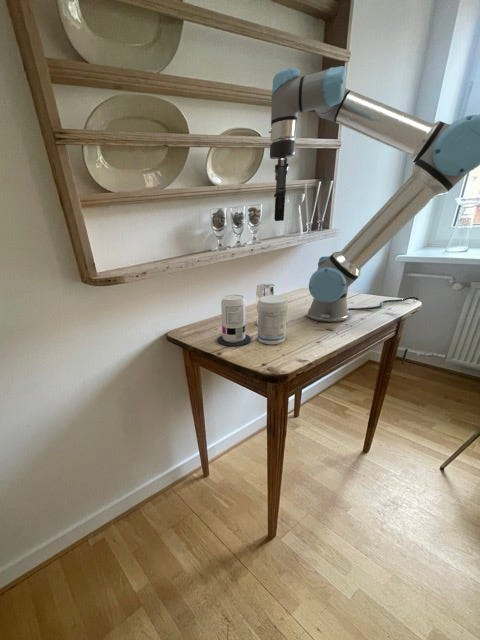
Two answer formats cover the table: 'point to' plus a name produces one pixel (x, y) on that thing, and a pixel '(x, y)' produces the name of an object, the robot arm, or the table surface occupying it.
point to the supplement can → (233, 318)
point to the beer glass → (263, 292)
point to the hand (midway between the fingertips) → (278, 220)
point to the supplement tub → (272, 319)
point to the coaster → (243, 342)
